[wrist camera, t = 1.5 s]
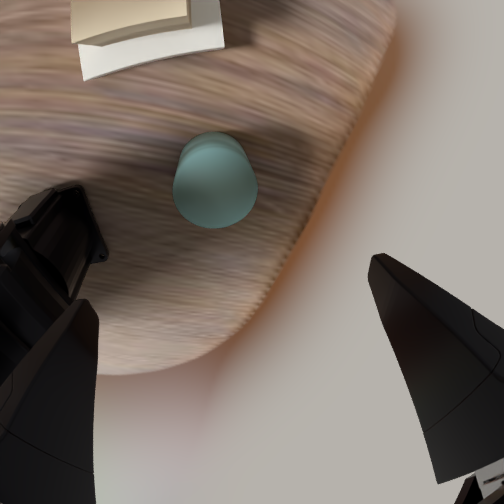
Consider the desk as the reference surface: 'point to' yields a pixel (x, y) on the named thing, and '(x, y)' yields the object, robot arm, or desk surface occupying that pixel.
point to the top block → (126, 19)
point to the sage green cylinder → (214, 181)
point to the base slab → (157, 44)
